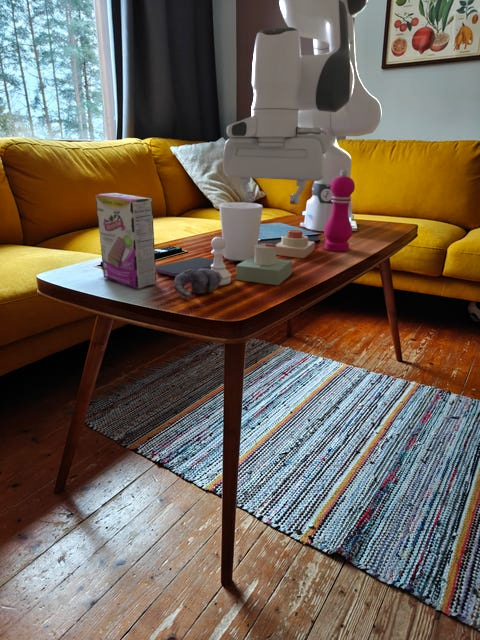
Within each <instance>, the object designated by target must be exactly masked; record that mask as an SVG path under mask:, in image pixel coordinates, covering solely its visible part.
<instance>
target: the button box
mask: <svg viewBox="0 0 480 640" xmlns="http://www.w3.org/2000/svg"><path fill="white" fill-rule="evenodd" d="M275 245H276V246H277V248H276V256H280V257H289V258H298V259H305V258H306V257H308V256H309V255H310V254H311V253H312V252H313V251H315V245H316V242H315V241H311V240H309V237H308V236H307V235H304V234H302V238H288V233H287V234H283V235H281V241H280V242H278V243H276V244H275Z"/></svg>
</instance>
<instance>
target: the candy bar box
mask: <svg viewBox="0 0 480 640" xmlns="http://www.w3.org/2000/svg"><path fill="white" fill-rule="evenodd" d="M95 204H96V214H97V224H98V234H99V240H100V241H99V243H100V252H101V253H100V254H101V263H102V272H103V274H102V275H103V278H104V279H107V280H110V281H114V282H115V283H119V284H121V285H125V286H126V287H127V286H128V287H131V288H133V289H136V290H141V289H145V288H148V287H151V286H154V285H157V272H156V266H157V265H156V249H155V247H156V246H155V232H154V213H153V199H152V198H150V197H144V196H139V195H131V194H125V193H119V192H109V193H98V194H95Z"/></svg>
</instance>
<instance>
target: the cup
mask: <svg viewBox="0 0 480 640" xmlns="http://www.w3.org/2000/svg"><path fill="white" fill-rule="evenodd" d="M218 207H219V217H220V228H221V229H220V230H221V237H222V238H223V239H224V240H225V242H226V246H225V248H224V249H223V250H224V251H225V252H226V253H225V254H223V259H224V260H225V261H228V263H230V264H235V263H236V262H240V263H241V262H243V261H245V260H247V259H248V258H250V257H252V256H255V245H256V244H259V239H260V231H261V225H262V224H261V223H262V216H263V209H264V206H263V204H260V203H256V202H245V201H244V202H242V201H241V202H240V201H239V202H238V201H237V202H233V201H232V202H223V203H220V204H219V206H218Z"/></svg>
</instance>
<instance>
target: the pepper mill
mask: <svg viewBox="0 0 480 640" xmlns="http://www.w3.org/2000/svg"><path fill="white" fill-rule="evenodd" d="M347 174H348V172H347V171H346V170H342V171H341V172H340V175H341V176H340V177H337V178H335V179H334V180H333V181H332V183H331V187H330V189H331V192H332V193H333V196H332V200H331V201H332V202H333V210H332V214H331V217H330V219H329V221H328V222H327V224H326V227H325V230H324V231H323V235H324V237H325V238H326V240H325V242H324V249H325V250H326V251H328V252H329V251H330V252H348V251H349V249H350V243H349V242H348V241H349V240H350V239H351V238H352V236H353V231H352V226H351V223H350V220H349V216H348V208H349V203H351V202H352V196H351V195H352V194H353V193H354V192H355V188H356V184H355V181H354V179H353V178H351V176H350V177H347Z"/></svg>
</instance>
